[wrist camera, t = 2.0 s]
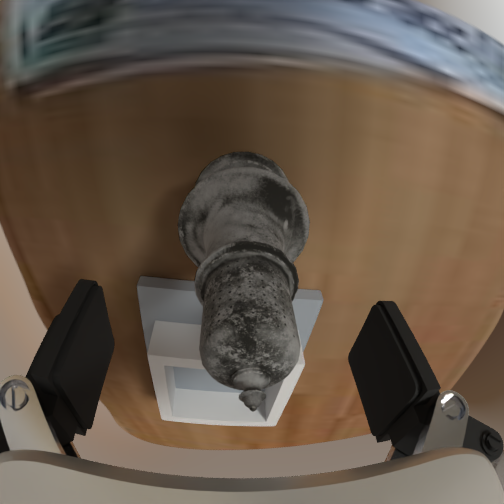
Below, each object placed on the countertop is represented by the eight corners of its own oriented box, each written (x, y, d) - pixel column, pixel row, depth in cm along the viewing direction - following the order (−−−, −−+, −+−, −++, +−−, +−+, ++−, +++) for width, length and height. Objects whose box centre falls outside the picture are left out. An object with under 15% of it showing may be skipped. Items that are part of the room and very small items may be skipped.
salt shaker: (187, 240, 18) (148, 441, 8) (191, 141, 15) (103, 317, 5) (286, 247, 19) (329, 444, 9) (305, 153, 15) (418, 330, 5)
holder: (140, 275, 19) (124, 319, 16) (320, 290, 21) (334, 334, 17) (159, 396, 28) (155, 430, 25) (275, 403, 29) (279, 437, 26)
